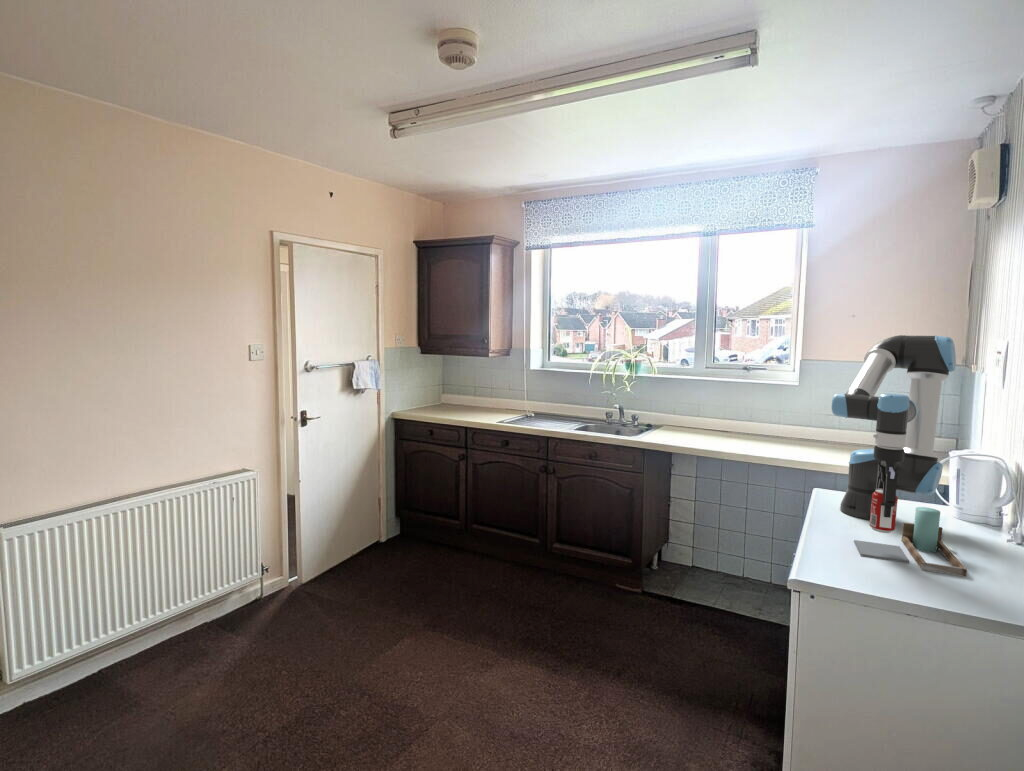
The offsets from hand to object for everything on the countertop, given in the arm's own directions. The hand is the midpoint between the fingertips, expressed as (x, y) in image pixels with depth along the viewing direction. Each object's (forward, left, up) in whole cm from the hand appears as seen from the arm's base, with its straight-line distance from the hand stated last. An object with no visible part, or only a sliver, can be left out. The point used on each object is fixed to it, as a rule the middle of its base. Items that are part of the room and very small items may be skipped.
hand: (882, 523), depth 170 cm
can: (-9, +13, -9) cm, 18 cm away
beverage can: (0, 0, -2) cm, 2 cm away
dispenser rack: (-2, +13, -9) cm, 16 cm away
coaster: (0, 0, -9) cm, 9 cm away
